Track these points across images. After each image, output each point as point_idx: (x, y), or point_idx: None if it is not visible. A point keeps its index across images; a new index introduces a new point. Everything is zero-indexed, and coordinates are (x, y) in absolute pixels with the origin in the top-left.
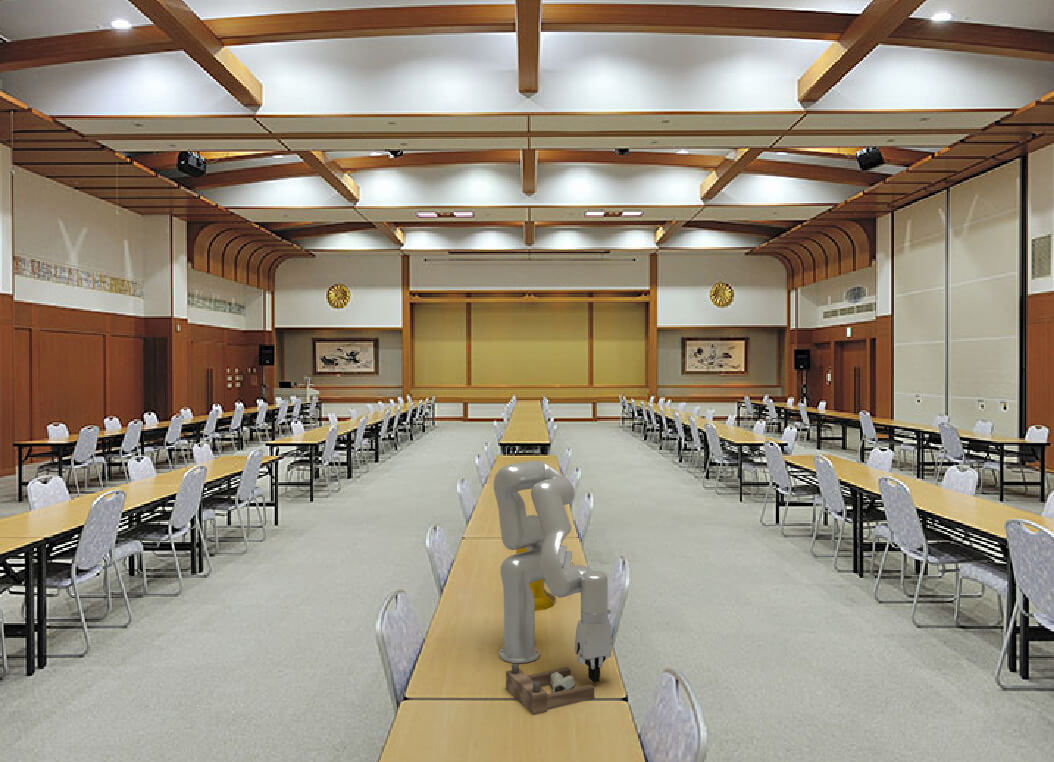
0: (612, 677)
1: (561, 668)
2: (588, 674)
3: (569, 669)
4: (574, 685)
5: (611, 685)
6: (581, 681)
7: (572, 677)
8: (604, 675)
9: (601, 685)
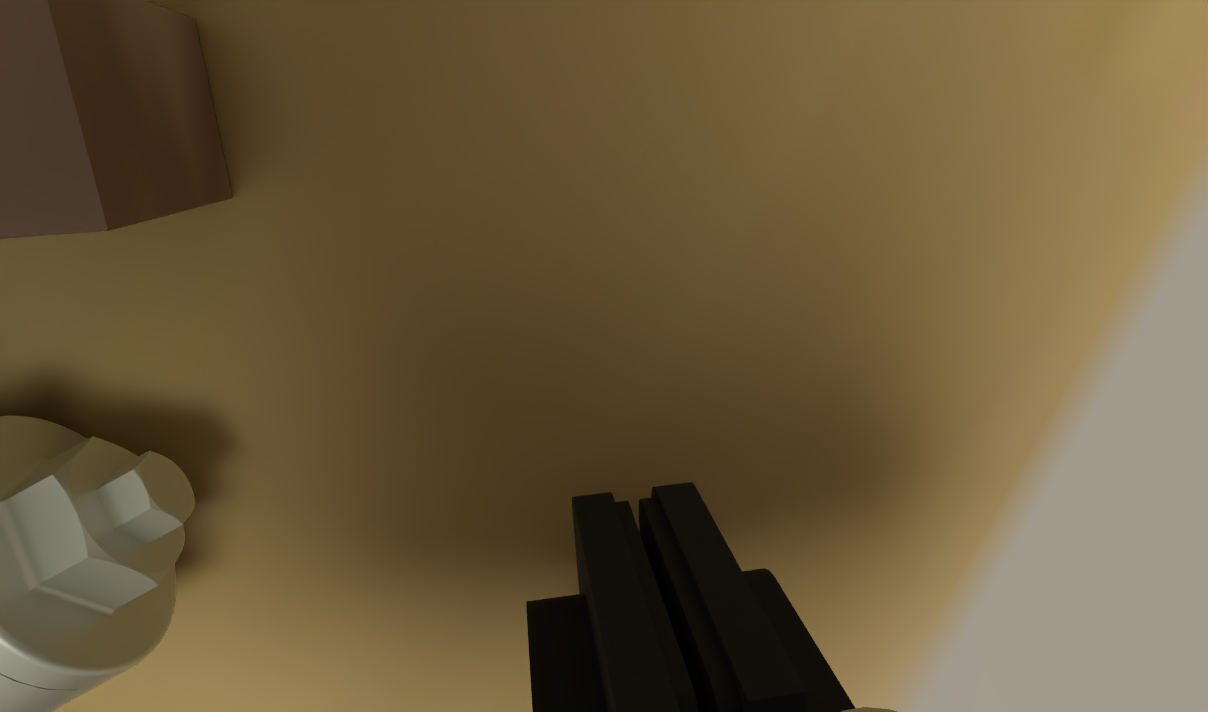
0: (1065, 393)
1: None
2: (529, 641)
3: (68, 208)
4: (165, 603)
5: (860, 651)
6: (447, 348)
7: (34, 680)
8: (1002, 261)
9: None
